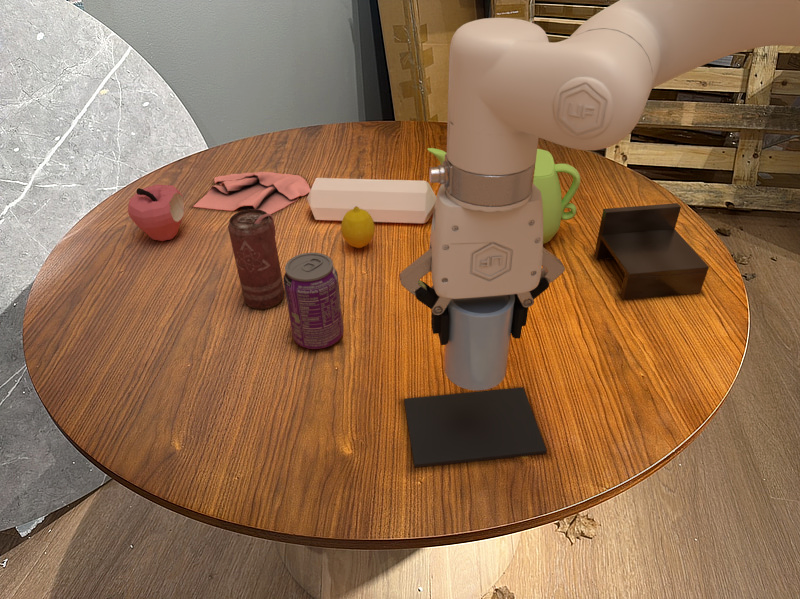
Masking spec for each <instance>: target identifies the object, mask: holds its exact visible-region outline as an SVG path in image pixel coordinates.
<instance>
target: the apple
mask: <svg viewBox="0 0 800 599" xmlns="http://www.w3.org/2000/svg"><path fill="white" fill-rule="evenodd" d="M127 205H128V206H127V213H128V216H129V218H130V220H132V222H133V223H134V224H135V225H136V226H137V227H138V228H139V229H140V230H141V231H142V232H143V233H145V234H146V235H147V236H148V237H149V238H150V239H151V240H152V241H160V242H164V241H167V240H173V239H174V238H175V237H176V235H178V232H179V229H180V225H181V223H182V221H183V218H184V215H185V201H184V197H183V194H182V193H181V192H180V190H179V189H177V188H176V187H175V186H174V185H173V184H158V183H157V184H154V185H150V186H147V187H144V188H139V187H138V188H137V189H136V193H135V194H134V195H133V196H132V197H131V198H129V201H128V204H127Z"/></svg>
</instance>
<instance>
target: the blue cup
mask: <svg viewBox="0 0 800 599" xmlns="http://www.w3.org/2000/svg"><path fill="white" fill-rule="evenodd" d="M514 303H515V295H514V294H511V295H500V296H488V297H476V298H463V299H451V301H450V302H449V304H448V306H447V309H448V313H449V337H448V343H447V344H446V345H444V346H443V347H444V348H443V350H444V351H443V352H444V353H443V371H444V374H445V376H446V378H447V379H448V380H449V381H450V382H451V383H452V384H454V385H456V386H457V387H459V388H462V389H464V390H468V391H476V392H479V391H488V390H490V389H493V388H495V387H497V386H499V385H500V384H501V383H503V381H504V379H505V378H506V375H507V372H508V361H509V355H510V354H509V352H510V345H511V337H512V334H511V329H512V320H513V312H514Z"/></svg>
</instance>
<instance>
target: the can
mask: <svg viewBox="0 0 800 599" xmlns="http://www.w3.org/2000/svg"><path fill="white" fill-rule="evenodd" d="M274 220H275V219H274V217H273V214H268V213H266V212H265V211H262V210H257V209H250V210H244V211H241V210H240V211H238V212H236V213H235V214H233V215H232V216H231V217H230V218H229V223H228V225H227V229H228V234H229V239H230V243H231V247H232V251H233V257H234V260H235V261H234V262H235V265H236V270H237V274H238V278H239V284H240V288H241V291H242V296H243V300H244V303H245V304H246V305H247V306H248V307H250V308H252V309H255V310H268V309H272V308H274V307H276V306H278V305H279V304H280V303H281V302H282V301H283V299H284V297H285V295H286V294H285V288H284V281H283V276H282V270H281V263H280V259H279V258H280V257H279V252H278V246H277V240H276V224H275V221H274Z"/></svg>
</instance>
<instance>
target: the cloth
mask: <svg viewBox="0 0 800 599" xmlns="http://www.w3.org/2000/svg"><path fill="white" fill-rule="evenodd" d="M213 181H214V184H215V185H212V186H211V187H210V188H209V190H208V192H207V193H206V194H205V195H204V196H203V197H201V199H199V200H198V201H197V202H196V203H195V204H194V205H192V208H197V209H199V208H200V209H207V210H217V211H227V212H229V211H230V212H235V211H236V210H238V209H239V208H240V209H239V210H240V212H241V211H244V210H250V209H257V210H262V211H265V212H266V213H268V214H271V215H273V214H275V213H277V212H279V211H281V210H283V209H285V208H286V207H288V206H290V205H292V204H294V203H296V202H297V201H298V200H299V197H304V196H306V195H309V192H310V190H311V187H310V185H309V183H308V182H307V180H306V179H305V178H304V177H302V176H301V175H300V174H289V173H279V172H273V171H255V172H243V173H231V174H227V175H219V176H215V177H214V178H213ZM217 183H218V184H219V185H216V184H217Z"/></svg>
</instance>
